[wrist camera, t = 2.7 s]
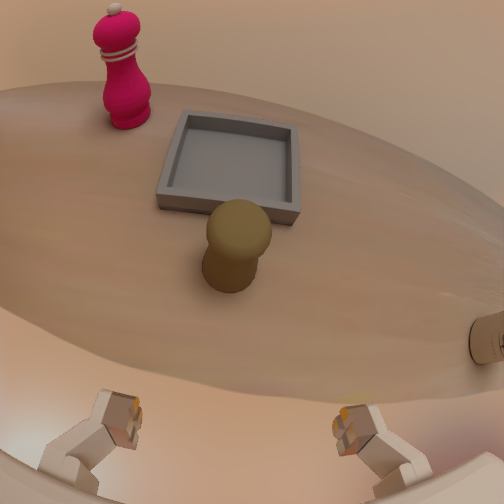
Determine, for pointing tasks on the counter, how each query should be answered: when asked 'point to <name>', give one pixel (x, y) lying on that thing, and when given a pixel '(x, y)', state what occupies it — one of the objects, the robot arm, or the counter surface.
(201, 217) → the counter surface
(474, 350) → the travel mug
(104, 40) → the pepper mill
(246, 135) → the tray
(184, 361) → the counter surface
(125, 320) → the counter surface
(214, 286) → the brown pawn
